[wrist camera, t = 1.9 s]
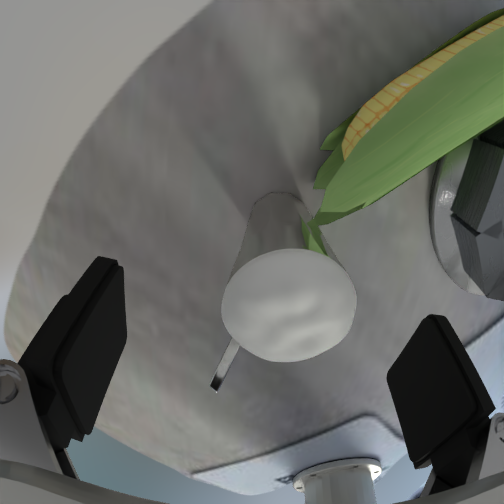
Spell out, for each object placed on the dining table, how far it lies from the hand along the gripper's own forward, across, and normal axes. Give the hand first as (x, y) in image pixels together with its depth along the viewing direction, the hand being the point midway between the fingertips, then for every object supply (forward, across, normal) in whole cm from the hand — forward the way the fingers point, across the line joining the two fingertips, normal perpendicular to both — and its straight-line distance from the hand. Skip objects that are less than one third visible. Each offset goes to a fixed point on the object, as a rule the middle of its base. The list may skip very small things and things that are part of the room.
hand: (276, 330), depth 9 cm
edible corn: (+10, -7, -9) cm, 15 cm away
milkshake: (+10, 0, +1) cm, 10 cm away
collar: (+9, -16, -5) cm, 20 cm away
